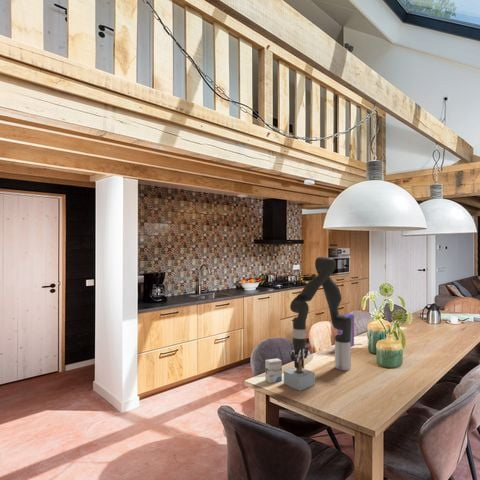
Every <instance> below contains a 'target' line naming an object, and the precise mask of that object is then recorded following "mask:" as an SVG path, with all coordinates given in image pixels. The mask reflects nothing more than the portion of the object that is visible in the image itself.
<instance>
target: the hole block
mask: <svg viewBox="0 0 480 480" xmlns="http://www.w3.org/2000/svg"><path fill="white" fill-rule="evenodd" d="M315 373H316V372H314V371H311V370H309V369H305V367H304V368H302V373H301V374H298V373H296V368H295V367H293V368H290V369H286V370H283V384H284V385H285V386H288V387H291V388H292V389H295V390H297V391H299V392H300V391H303V390H305V389H306V390H307V389H308V388H312V387H314V386H315V385H316V384H315V382H316V381H315V379H316V378H315V377H316V374H315Z"/></svg>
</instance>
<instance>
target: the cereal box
mask: <svg viewBox="0 0 480 480" xmlns="http://www.w3.org/2000/svg"><path fill="white" fill-rule="evenodd" d="M343 315H344V316H349V317H350V318H351V338H350V348H352V347H354V346H355V314H353V313H347V314H343ZM336 330H337V331H336V332H337V335H339V334H342V332H343V330H339V329H336Z"/></svg>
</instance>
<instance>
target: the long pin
mask: <svg viewBox="0 0 480 480" xmlns="http://www.w3.org/2000/svg"><path fill="white" fill-rule="evenodd" d="M296 359H297V357H296ZM298 362H299V368H296V373H298V374H301V373H302V358H299V361H298Z"/></svg>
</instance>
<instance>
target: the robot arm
mask: <svg viewBox="0 0 480 480" xmlns="http://www.w3.org/2000/svg"><path fill="white" fill-rule="evenodd" d="M314 267H315V270H316V273H317V275H316V276H315V277H314V278H312V279H311V280H310V281H309V282H307V283H306V284H305V286H304V287H303V289H302V290H301V292H300V293H299V294H298V295H297V296H296V297H294V298H293V299H292V301H291V303H290V305H289V308H290V310H291V312H293V313H295V314H296V313H297V314H298V315H297V316H295V317H293V318H292V339H291V340H292V343H291V344H292V345H293V347H292V350H288V351H289V356H290V360H291V361H293V363H294V364H293V365H294V368H299V362H298V361H299V358H302V367H303V366H304V367H305V359H307V358H308V355H309V354H308V353H309V349H310V348H309V347H308V346H306V345H307V329H306V327H307V326H306V325H307V323H306V322H307V318H308V315H309V314H308V313H309V310H310V309H309V307H310V306H309V305H308V303H307V302H311V301H312V300H313V299H314V297H315V295H316V293H317V292H318V290H319V289H320V288H321V286H322V288H323V292H324V296H325V299H326V302H327V306H328V309H329V313H330V315H329V316H330V319H331V324H332V327H333V328H334V329H335V330H337V329H339V330H343V332H342V334H339V335H335V337H334V368H335V370H336V369H337V370H338V371H350V370H351V368H352V353H351V347H350V338H351V318H350V317H349V316H344V315H345V314H343V315H342V314H340V313H339V310H338V309H339V306H340V304H341V303H342V302H341V301H342V294H341V291H340V288H339V287H338V285H337V283H336V282H335V281H334V280H333V279H332V278H331V276H332V274H333V272H335V270H336V267H337V262H336V260H335V259H334V258H333V257H327V256H325V257H324V256H319V257H317V258H316V259H315V261H314ZM296 358H297V359H296Z"/></svg>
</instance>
